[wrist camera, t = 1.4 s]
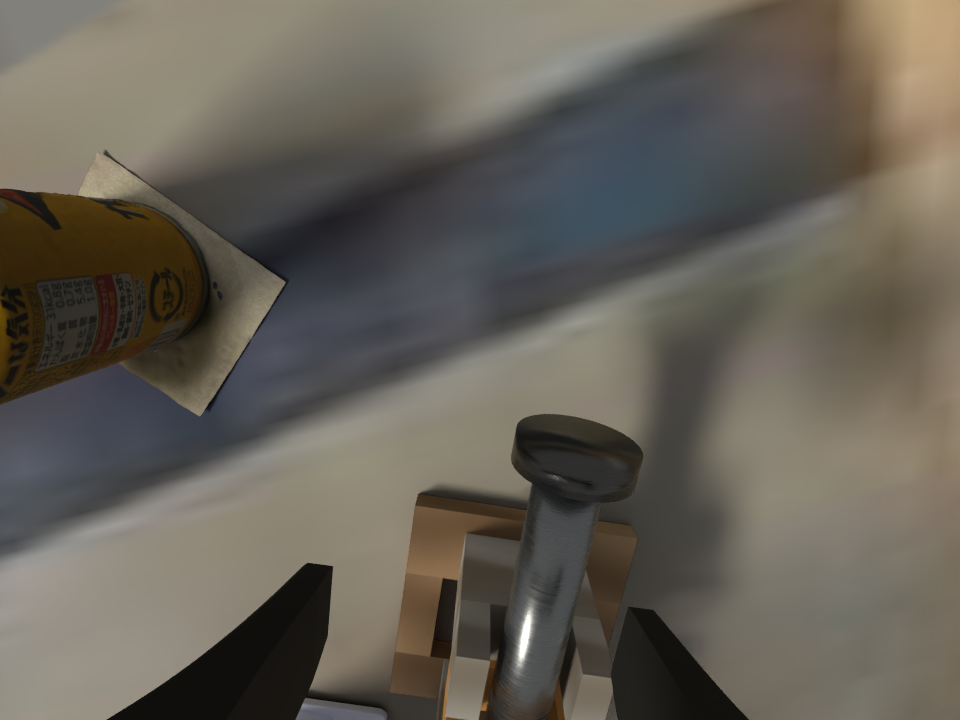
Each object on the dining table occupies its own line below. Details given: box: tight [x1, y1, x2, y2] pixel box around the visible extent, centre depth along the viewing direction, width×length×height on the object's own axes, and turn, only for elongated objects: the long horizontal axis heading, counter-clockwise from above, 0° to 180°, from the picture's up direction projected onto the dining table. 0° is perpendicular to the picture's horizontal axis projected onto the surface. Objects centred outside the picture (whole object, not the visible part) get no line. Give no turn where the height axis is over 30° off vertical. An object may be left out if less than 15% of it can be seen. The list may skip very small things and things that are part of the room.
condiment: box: [0, 151, 286, 416], centre depth 15 cm, size 7×8×12 cm
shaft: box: [484, 414, 643, 720], centre depth 17 cm, size 15×4×4 cm, turn 171°
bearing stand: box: [390, 494, 638, 720], centre depth 21 cm, size 10×10×8 cm
